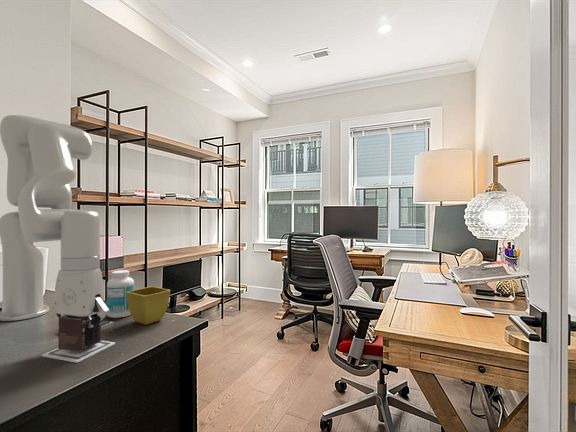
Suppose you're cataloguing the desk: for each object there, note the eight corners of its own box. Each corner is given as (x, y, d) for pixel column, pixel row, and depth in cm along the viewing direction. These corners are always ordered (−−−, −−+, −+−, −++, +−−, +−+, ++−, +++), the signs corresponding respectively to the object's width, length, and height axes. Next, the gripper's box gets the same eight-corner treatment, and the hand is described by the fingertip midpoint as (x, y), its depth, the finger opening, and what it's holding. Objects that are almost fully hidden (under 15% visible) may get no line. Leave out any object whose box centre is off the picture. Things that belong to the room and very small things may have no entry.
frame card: (42, 356, 69) (42, 354, 69) (83, 338, 78) (83, 337, 78) (77, 362, 66) (77, 360, 66) (115, 343, 75) (115, 342, 75)
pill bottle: (127, 309, 102) (128, 268, 102) (138, 314, 97) (138, 271, 97) (102, 315, 96) (103, 271, 96) (112, 320, 91) (113, 274, 91)
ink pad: (58, 333, 81) (58, 328, 81) (88, 322, 90) (88, 317, 90) (85, 337, 79) (85, 332, 79) (114, 325, 87) (114, 321, 87)
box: (80, 352, 68) (80, 319, 68) (57, 350, 70) (57, 317, 70) (101, 341, 74) (102, 311, 74) (80, 339, 76) (80, 309, 76)
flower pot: (152, 314, 97) (152, 285, 97) (171, 319, 93) (171, 289, 93) (125, 322, 90) (125, 291, 90) (144, 328, 85) (144, 296, 85)
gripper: (35, 264, 71) (35, 343, 71) (96, 269, 66) (95, 353, 66) (67, 259, 78) (67, 331, 78) (124, 263, 73) (123, 339, 73)
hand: (80, 340), depth 72 cm, fingers closed on box, 6 cm apart
